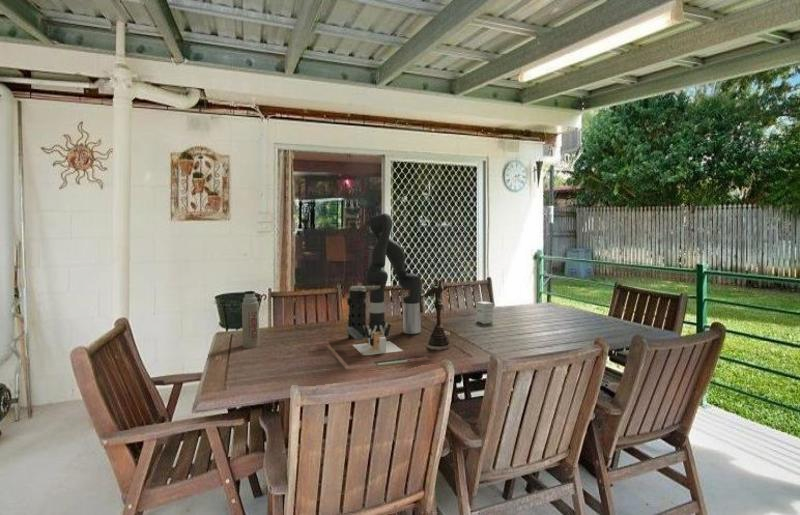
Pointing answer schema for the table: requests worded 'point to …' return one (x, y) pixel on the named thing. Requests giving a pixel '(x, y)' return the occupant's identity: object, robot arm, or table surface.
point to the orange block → (376, 340)
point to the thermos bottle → (250, 320)
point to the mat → (391, 362)
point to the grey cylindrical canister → (484, 312)
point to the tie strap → (354, 333)
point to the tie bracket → (383, 347)
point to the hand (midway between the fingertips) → (377, 345)
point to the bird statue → (438, 335)
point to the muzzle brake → (357, 309)
